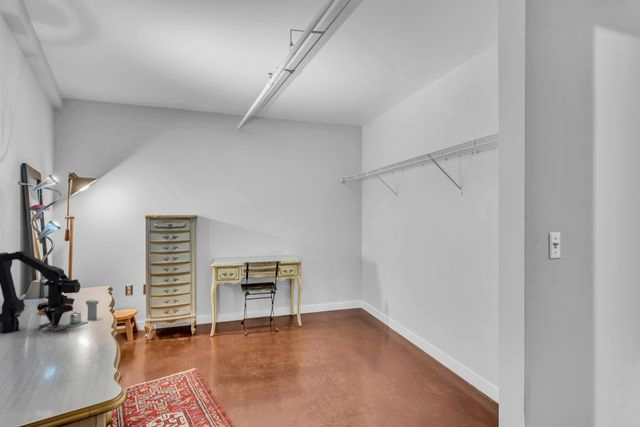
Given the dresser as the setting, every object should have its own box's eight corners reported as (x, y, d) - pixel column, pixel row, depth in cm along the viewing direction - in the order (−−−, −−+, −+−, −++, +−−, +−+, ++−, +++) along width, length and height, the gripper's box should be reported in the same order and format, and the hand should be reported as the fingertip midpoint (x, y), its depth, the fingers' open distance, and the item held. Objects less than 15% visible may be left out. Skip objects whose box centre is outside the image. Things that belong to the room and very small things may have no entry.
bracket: (46, 316, 194) (46, 304, 194) (34, 316, 195) (34, 304, 195) (74, 308, 211) (74, 297, 211) (63, 307, 213) (63, 296, 213)
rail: (55, 333, 166) (55, 328, 166) (38, 329, 171) (38, 325, 171) (66, 329, 171) (66, 325, 171) (49, 326, 176) (49, 322, 176)
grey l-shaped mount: (72, 327, 174) (72, 307, 174) (62, 325, 177) (62, 306, 177) (99, 319, 188) (99, 300, 188) (90, 318, 191) (90, 299, 191)
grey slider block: (44, 332, 164) (44, 320, 164) (39, 331, 165) (39, 319, 165) (61, 327, 171) (61, 315, 171) (56, 326, 173) (56, 315, 173)
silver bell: (73, 325, 176) (73, 314, 176) (67, 324, 178) (67, 313, 178) (82, 322, 181) (82, 311, 181) (76, 321, 183) (76, 310, 183)
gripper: (83, 291, 174) (83, 321, 174) (60, 289, 181) (60, 317, 181) (60, 296, 164) (60, 328, 164) (36, 293, 171) (36, 324, 171)
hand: (54, 324), depth 170 cm, fingers closed on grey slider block, 3 cm apart
